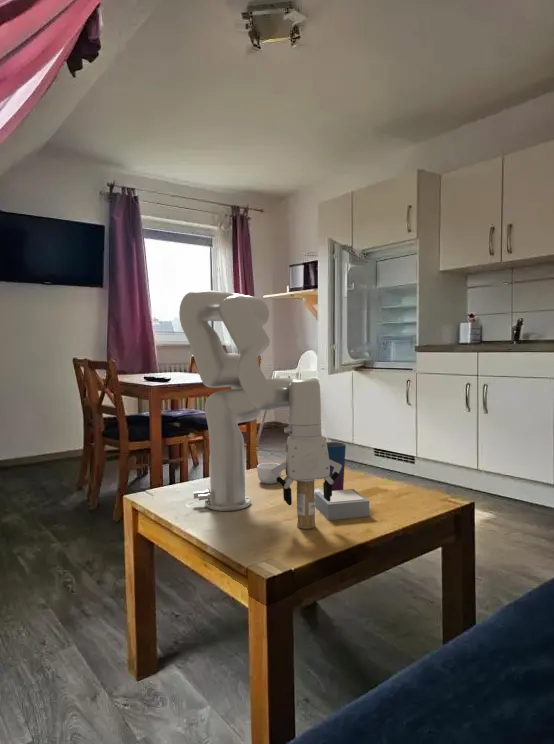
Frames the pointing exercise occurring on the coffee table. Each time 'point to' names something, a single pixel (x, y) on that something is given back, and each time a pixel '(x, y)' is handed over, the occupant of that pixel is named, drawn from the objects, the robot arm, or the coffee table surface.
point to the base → (342, 504)
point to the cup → (338, 455)
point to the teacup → (267, 472)
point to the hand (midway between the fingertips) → (308, 501)
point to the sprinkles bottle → (306, 504)
